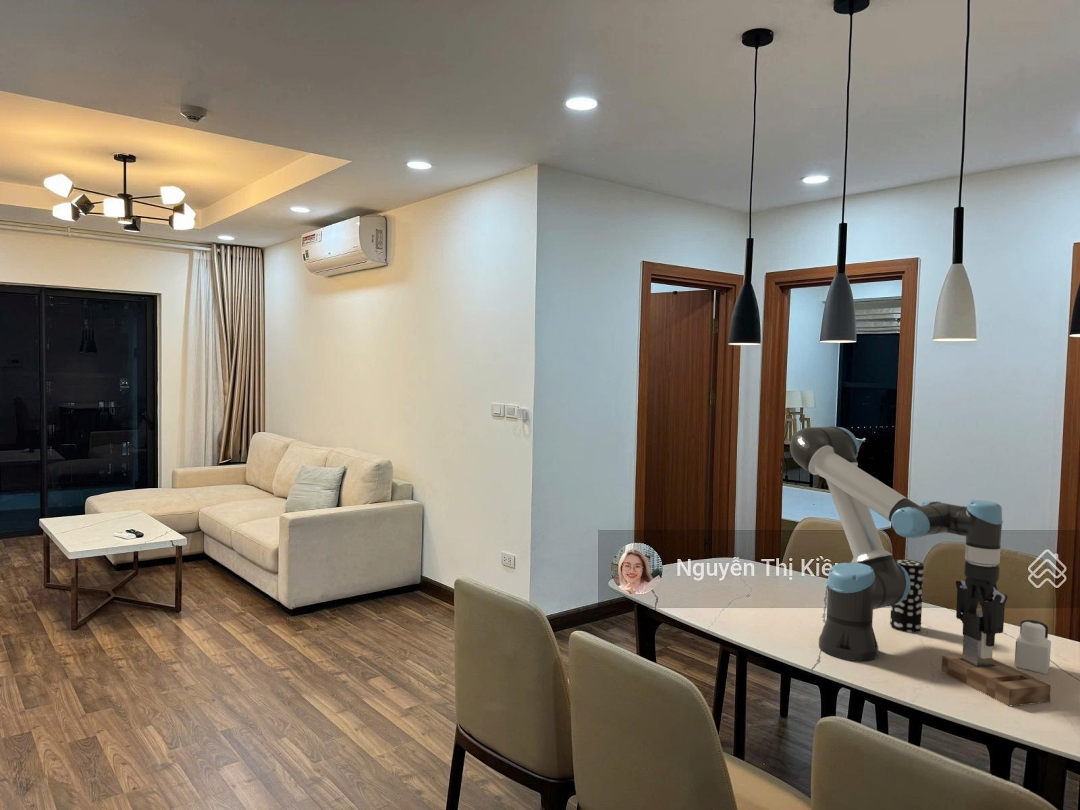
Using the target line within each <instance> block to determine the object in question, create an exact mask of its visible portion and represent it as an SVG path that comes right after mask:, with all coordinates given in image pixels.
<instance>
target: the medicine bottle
mask: <svg viewBox="0 0 1080 810" xmlns="http://www.w3.org/2000/svg"><path fill="white" fill-rule="evenodd" d="M1019 627H1020V628H1019V629H1020V630H1019V634H1018V636H1017V638H1016V641H1015V651H1014V654H1015V655H1014V667H1015V668H1018V667H1019V668H1018V669H1022V668H1023V670H1026V669H1028V670H1027V671H1031V670H1032V671H1031V672H1035V671H1036V672H1037V673H1039V672H1040V674H1043V673H1044V675H1047V674H1048V672H1049V670H1050V665H1051V664H1050V663H1051V648H1052V647H1051V646H1052V642H1051V640H1050V639H1048V636H1049V634H1048V633H1049V627H1048V625H1047V624H1045V623H1044V622H1041V621H1039V620H1034V619H1033V620H1031V619H1023V620H1021V621H1020V626H1019Z"/></svg>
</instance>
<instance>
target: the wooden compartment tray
mask: <svg viewBox="0 0 1080 810" xmlns="http://www.w3.org/2000/svg"><path fill="white" fill-rule="evenodd" d="M962 658H963V653H961V654H953V655H942V656H941V669H940V672H941V671H942V673H943V672H944V674H945V673H946V674H945V675H947V676H950V677H952V678H953V679H954V680H955V679H956V680H957V681H959V682H960V683H963V684H964V685H967V686H969V687H970V686H971V687H970V688H972V687H973V688H972V689H974V688H975V690H976V689H977V690H976V691H978V690H979V692H980V691H981V692H980V693H982V692H983V693H982V694H984V693H985V694H984V695H986V694H987V695H986V696H988V695H989V696H988V697H990V696H991V698H992V697H993V698H992V699H994V698H995V699H994V700H996V699H997V700H998V702H999V701H1000V703H1001V702H1002V703H1001V704H1003V703H1004V704H1003V705H1005V704H1006V706H1007V705H1008V706H1007V707H1011V706H1010V705H1016V706H1021V705H1020V704H1025V705H1031V704H1030V703H1035V704H1042V703H1041V702H1044V703H1050V702H1051V691H1052V689H1051V688H1052V685H1051V684H1049V683H1047V682H1045V681H1044V680H1043V681H1042V680H1040V679H1038V678H1036V677H1034V676H1032V675H1029V674H1027V673H1025V672H1023V671H1021V670H1018V669H1016V668H1014V667H1012V666H1009V665H1007V664H1006V663H1003V662H1001V661H999V660H996V659H994V658H992V666H990V667H979V668H977V667H975V666H973V665H971V664H969V663H966V662H964V661H962ZM997 700H996V701H997ZM1049 701H1050V702H1049ZM1039 702H1040V703H1039Z"/></svg>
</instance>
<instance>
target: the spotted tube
mask: <svg viewBox="0 0 1080 810" xmlns="http://www.w3.org/2000/svg"><path fill="white" fill-rule="evenodd" d="M894 561H895V563H897V564H899V565H900V566H901V567H903V568H904V569H905V570H906V571H907V573H908V575H909V578H910V591H909V593H908V595H907V597H906V598H905V599H904V600H903V601H901V602H899V603H897V604H895V605H893V606H890V619H889V620H890V621H889V622H890V623H889V625H890V627H891V629H894V630H895V631H900V632H905V633H919V632H921V630H922V609H923V608H922V607H923V606H922V605H923V590H924V589H923V588H924V586H923V585H924V570H925V569H924V567H925V565H924V563H923V562H920V561H917V560H912V559H902V558H897V559H894Z"/></svg>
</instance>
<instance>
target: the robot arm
mask: <svg viewBox="0 0 1080 810" xmlns="http://www.w3.org/2000/svg"><path fill="white" fill-rule="evenodd" d="M789 451H790V455H791V458H793V460H794V462H795V463H796V464H797V465H799V466H800V467H801V468H802V469H804V470H805V471H807V472H808V473H810V474H812V475H814V476H815V475H818V476H819V477H821V478H824V479H825V481H826V484H827V486H828V489H829V492H830V495H831V498H832V500H833V503H834V506H835V509H836V512H837V515H838V517H839V520H840V523H841V526H842V528H843V532H844V534H845V537H846V539H847V542H848V545H849V548H850V550H851V553H852V556H853V558H852V560H851V562H839V563H836V564H834V565H833V566H831V567H830V569H829V571H828V578H827V580H826V581H827V582H826V583H827V597H826V598H827V599H826V600H827V601H826V603H827V604H826V620H825V622H824V625H823V627H822V631H821V633H820V635H819V638H818V648H819V649H820V651H823V652H824V653H826V654H828V655H830V656H833V657H836V658H839V659H843V660H849V661H859V662H861V661H863V662H864V661H867V662H868V661H872V660H875V659H877V658H878V656H879V645H878V642H877V639H876V635H875V632H874V628H873V616H874V611H875V610H877V609H881V608H886V607H891V606H893V605H895V604H897V603H899V602H901V601H903V600H904V599H905V598H906V597H907V595H908V593H909V591H910V578H909V575H908V573H907V571H906V570H905V569H904V568H903V567H901V566H900V565H899V564H897V563H895V561H894V560H895V558H894V556H893V554H892V553H891V552H889V551H887V550H886V549H885V548H884V546H883V543H882V539H881V537H880V534H879V532H878V530H877V526H876V524H875V522H874V519H873V518H874V517H872V514H871V511H870V509H871V510H872V511H873V512H875V513H877V514H878V515H880V516H881V517H883V518H884V519H886V520H887V521H888V522H890V523H891V527H892V528H893V530H894V532H895V533H896V534H897V535H899V536H900V537H902V538H906V539H908V538H910V539H911V538H912V539H914V538H915V539H917V538H921V537H926V536H929V535H937V534H942V533H943V534H944V533H947V534H953V535H958V536H962V537H965V552H964V559H965V560H966V561H965V562H964V569H963V570H964V571H963V572H964V574H963V575H964V576H965V579H964V580H963V579H962V580H956V581H955V586H956V592H957V593H956V609H955V610H956V613H955V617H956V619H957V620H960V621H961V623H962V636H964V619H965V611H976V610H978V609H977V608H978V605H980V606H981V611H982V614H983V621H984V629H985V631H982V637H981V656H980V658H982V659H985V658H992V659H993V650H992V646H993V647H994V646H995V639H996V635H997V634H1003V632H1004V627H1005V626H1004V625H1005V624H1004V623H1005V606H1006V602H1007V600H1008V595H1007V594H1005V593H1004V594H1003V593H1001V592H1000V591H999V589H998V586H997V582H998V581H999V580H1000V565H999V564H1000V563H1001V559H1000V558H1001V547H1002V546H1001V543H1002V540H1001V539H1002V528H1003V527H1002V526H1003V523H1004V522H1003V521H1004V520H1003V509H1002V506H1001V505H1000V504H999V503H997V502H995V501H994V502H993V501H987V500H981V499H980V500H978V499H977V500H969V501H968V503H967V506H961V505H957V504H951V503H945V502H941V501H934V500H933V501H931V500H925V501H923V502H922V503H921V504H920V505H919V504H918V503H916V502H914V501H912V500H911V499H909V498H908V497H906V496H904V495H903V494H901V493H900V492H898V491H897V490H896V489H893V488H891V487H890V486H888V485H886V484H885V483H883V482H882V481H880V480H879V479H878V478H876V477H874V476H872V475H871V474H869V473H868V472H866V471H864V470H863V469H861V468H859V467H858V465H859V463H858V461H857V457H858V455H859V451H860V445H859V441H858V439H857V437H856V436H855V435H854V433H852V432H851V430H848V429H846V428H844V427H840V426H833V425H832V426H831V425H830V426H820V427H819V426H818V427H816V426H815V427H813V426H811V427H805V428H801V429H799V431H797V432H796V433H795V434H794V435H793V436H792V438H791V440H790V443H789ZM990 627H991V628H990Z"/></svg>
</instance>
